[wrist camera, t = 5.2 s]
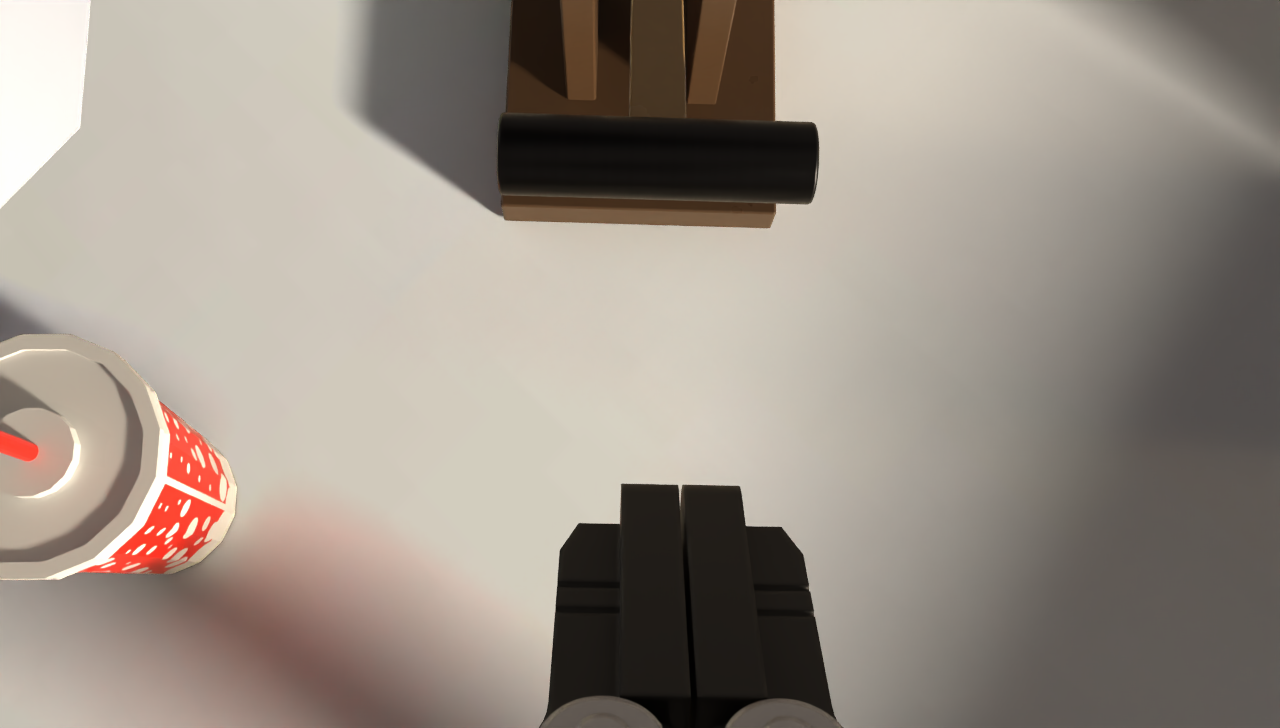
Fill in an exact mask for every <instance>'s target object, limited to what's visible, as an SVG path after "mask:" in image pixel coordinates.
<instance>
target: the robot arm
mask: <svg viewBox="0 0 1280 728" xmlns="http://www.w3.org/2000/svg"><path fill="white" fill-rule="evenodd" d="M539 728H843V727H842V726H841V725H840V723H839V722H838V721H837V720H836V717H835V715H834V712H833V708H832V704H831V699H830V694H829V688H828V683H827V678H826V672H825V667H824V662H823V657H822V651H821V646H820V641H819V636H818V630H817V625H816V620H815V617H814V609H813V604H812V599H811V593H810V592H809V583H808V578H807V572H806V567H805V562H804V557H803V554H802V553H801V551H800V550H799V549H798V548H797V546H796V545H795V544H794V542H793V541H792V540H791V539H790V537H789V536H788V535H787V534H786V532H785V531H784V530H783V529H782V527H752V526H746V525H745V517H744V510H743V502H742V494H741V489H740V486H716V485H682V491H681V503H679V488H678V485H656V484H621V509H620V524H589V523H579V524H578V525H577V527H576V528H575V529H574V531H573V532H572V534H571V535H570V537H569V538H568V539H567V541H566V542H565V544H564V545H563V547H562V548H561V549H560V556H559V569H558V585H557V596H556V612H555V622H554V635H553V649H552V662H551V675H550V689H549V702H548V708H547V712H546V715H545V718H544V720H543V722H542V724H541V725H540V727H539Z"/></svg>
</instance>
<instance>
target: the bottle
mask: <svg viewBox="0 0 1280 728" xmlns="http://www.w3.org/2000/svg"><path fill="white" fill-rule="evenodd" d="M90 4H91V0H0V208H1V207H2V206H3V205H4V204H5V203H6V202H7V201H8V200H9V199H10V198H11V197H12V196H13V195H14V194H15V193H16V192H17V191H18V190H19V189H20V188H21V187H22V186H23V185H24V184H25V183H26V182H27V181H28V180H29V179H30V178H31V177H32V176H33V175H34V174H35V173H36V172H37V171H38V170H39V169H40V168H41V167H42V166H43V165H44V164H45V163H46V162H47V161H48V160H49V159H50V158H51V157H52V156H53V155H54V154H55V153H56V152H57V151H58V150H59V149H60V148H61V147H62V146H63V145H64V144H65V143H66V142H67V141H68V140H69V139H70V138H71V137H72V135H73V134H74V133H75V132H76V131H77V130H78V129H79V128H80V122H81V110H82V98H83V87H84V75H85V63H86V51H87V40H88V28H89V16H90Z"/></svg>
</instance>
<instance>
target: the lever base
mask: <svg viewBox="0 0 1280 728" xmlns="http://www.w3.org/2000/svg"><path fill="white" fill-rule="evenodd" d="M683 5H684V43H685V80H686V118H694V119H726V120H758V121H775V25H774V0H683ZM630 17H631V0H511V16H510V36H509V56H508V75H507V95H506V113H535V114H567V115H599V116H629V73H630ZM501 207H502V212H503V216H504V219H505V220H510V221H544V222H578V223H612V224H646V225H680V226H714V227H748V228H770V227H771V224H772V222H773V219H774V216H775V214H776V203H746V202H712V201H679V200H645V199H612V198H578V197H545V196H511V195H502V194H501Z"/></svg>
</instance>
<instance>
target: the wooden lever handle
mask: <svg viewBox="0 0 1280 728" xmlns="http://www.w3.org/2000/svg"><path fill="white" fill-rule="evenodd" d="M818 168H819V138H818V131H817V128H816V125H815V124H814V123H812V122H789V121H758V120H726V119H694V118H686V80H685V43H684V5H683V0H631V17H630V73H629V116H599V115H567V114H535V113H502V114H501V115H500V118H499V123H498V132H497V181H498V189H499V192H500V194H502V195H511V196H545V197H578V198H612V199H645V200H679V201H712V202H746V203H779V204H809V203H811V202H812V200H813V197H814V194H815V191H816V185H817V178H818Z"/></svg>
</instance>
